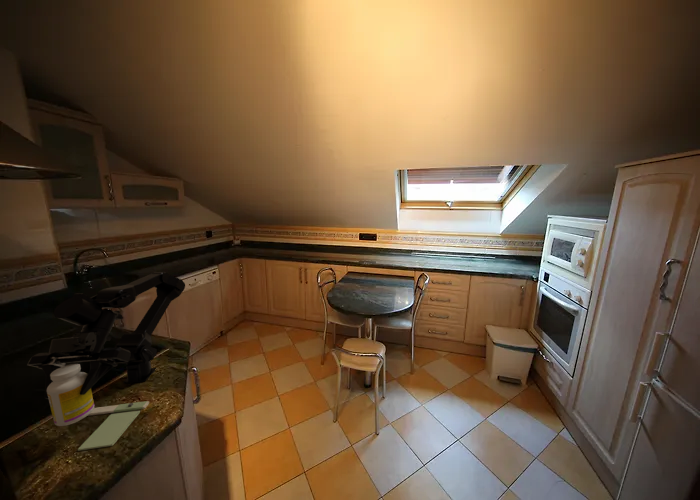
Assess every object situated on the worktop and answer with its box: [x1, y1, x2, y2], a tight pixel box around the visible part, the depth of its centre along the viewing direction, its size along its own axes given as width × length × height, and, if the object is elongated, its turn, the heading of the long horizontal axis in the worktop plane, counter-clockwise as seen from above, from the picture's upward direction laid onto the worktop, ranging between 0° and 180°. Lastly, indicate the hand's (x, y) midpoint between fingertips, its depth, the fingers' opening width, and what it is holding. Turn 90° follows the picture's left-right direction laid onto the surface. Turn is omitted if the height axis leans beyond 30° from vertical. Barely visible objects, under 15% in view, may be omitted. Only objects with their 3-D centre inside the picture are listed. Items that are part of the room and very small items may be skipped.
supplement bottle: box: [47, 363, 95, 427], centre depth 58 cm, size 7×7×13 cm
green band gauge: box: [77, 400, 150, 452], centre depth 62 cm, size 13×16×1 cm
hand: (64, 396), depth 57 cm, fingers closed on supplement bottle, 7 cm apart
